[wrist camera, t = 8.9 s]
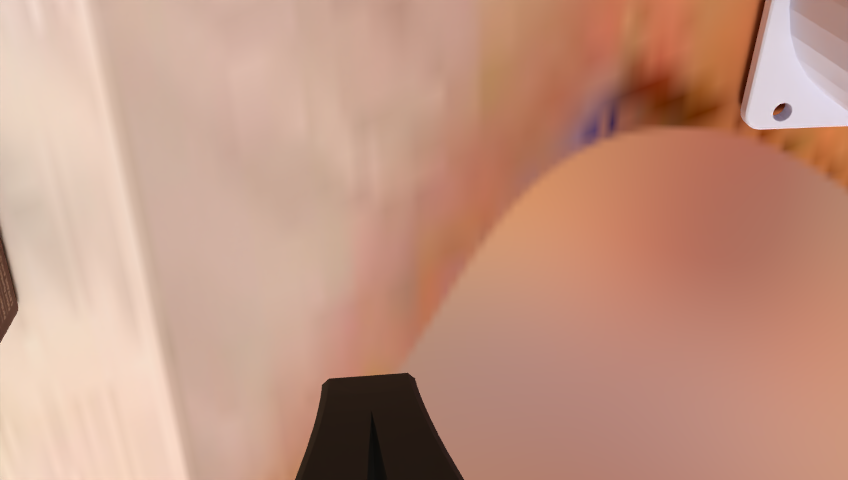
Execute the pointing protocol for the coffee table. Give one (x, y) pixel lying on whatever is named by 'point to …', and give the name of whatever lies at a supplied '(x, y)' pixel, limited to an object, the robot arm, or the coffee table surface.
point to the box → (6, 296)
